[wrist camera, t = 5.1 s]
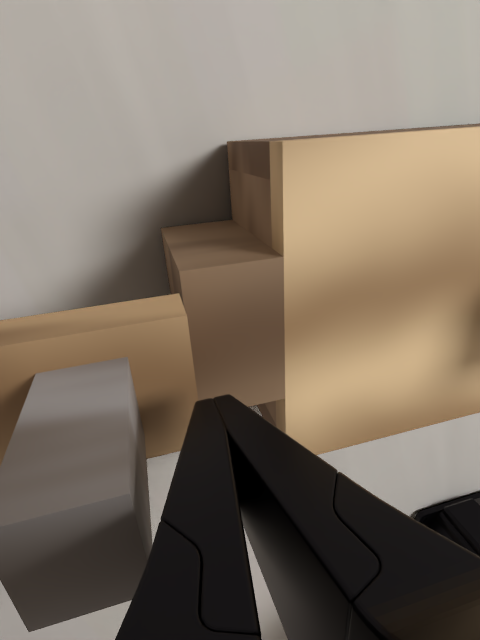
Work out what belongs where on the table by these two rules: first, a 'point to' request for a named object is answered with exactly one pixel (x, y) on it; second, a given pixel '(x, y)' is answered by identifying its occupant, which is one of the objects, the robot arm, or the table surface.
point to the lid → (377, 282)
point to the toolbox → (238, 284)
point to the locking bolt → (86, 449)
